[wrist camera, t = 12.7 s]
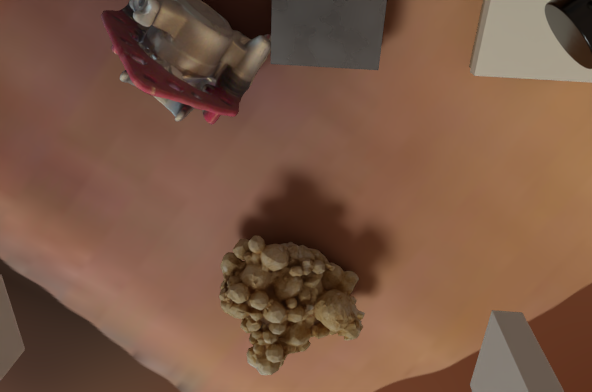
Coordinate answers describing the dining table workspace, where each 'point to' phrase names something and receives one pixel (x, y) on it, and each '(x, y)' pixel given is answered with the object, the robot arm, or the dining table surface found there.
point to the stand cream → (521, 44)
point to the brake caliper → (185, 55)
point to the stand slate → (327, 33)
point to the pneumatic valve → (572, 27)
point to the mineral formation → (286, 299)
